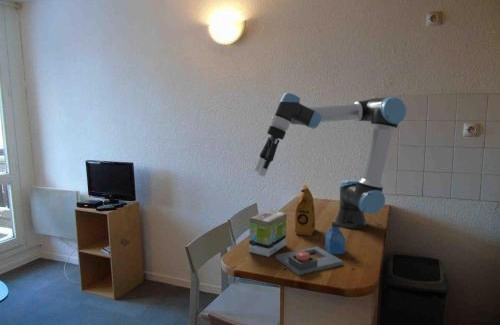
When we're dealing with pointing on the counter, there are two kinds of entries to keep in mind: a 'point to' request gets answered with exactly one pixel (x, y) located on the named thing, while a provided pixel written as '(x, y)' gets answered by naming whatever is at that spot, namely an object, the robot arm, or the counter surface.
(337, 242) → the perfume bottle
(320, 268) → the pallet plate
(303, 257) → the button
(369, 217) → the counter surface
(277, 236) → the tea box
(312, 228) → the coffee package
